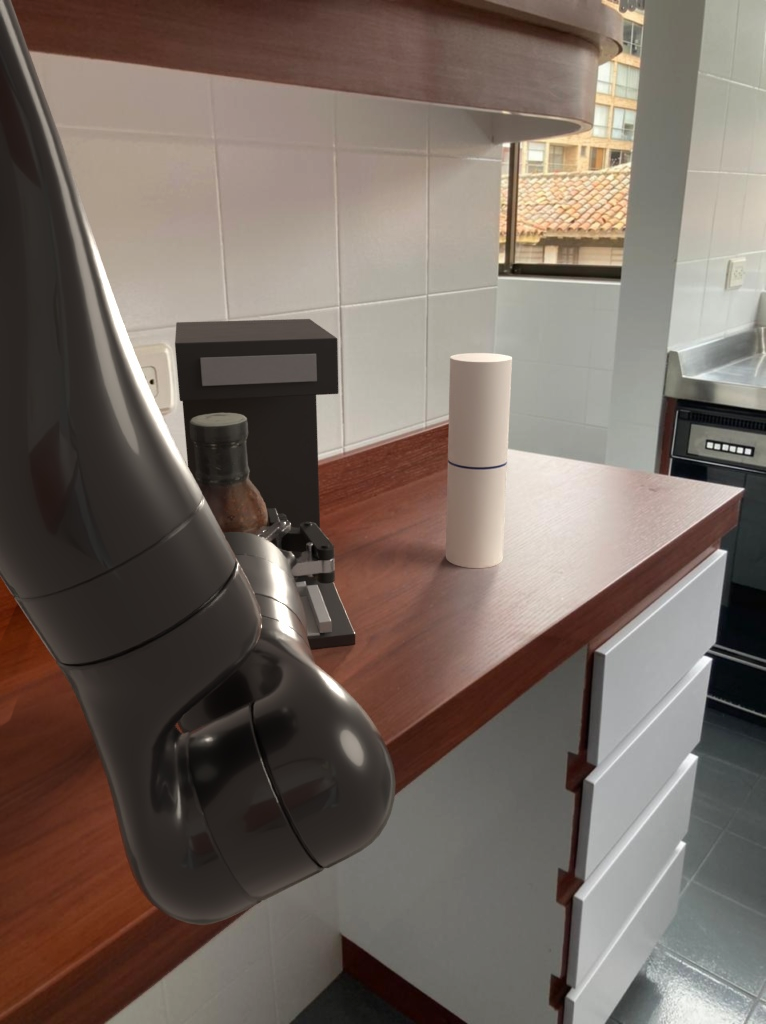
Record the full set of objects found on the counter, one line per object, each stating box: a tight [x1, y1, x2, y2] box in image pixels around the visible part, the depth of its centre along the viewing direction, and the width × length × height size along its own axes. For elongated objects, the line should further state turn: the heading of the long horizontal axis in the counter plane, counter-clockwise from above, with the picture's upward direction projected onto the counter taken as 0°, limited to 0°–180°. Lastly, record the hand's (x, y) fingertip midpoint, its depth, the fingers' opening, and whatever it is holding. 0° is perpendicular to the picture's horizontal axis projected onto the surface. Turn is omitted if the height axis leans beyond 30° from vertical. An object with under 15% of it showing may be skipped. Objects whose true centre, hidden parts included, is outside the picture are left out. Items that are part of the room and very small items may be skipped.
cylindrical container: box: [445, 352, 513, 569], centre depth 99 cm, size 7×7×25 cm
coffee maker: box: [174, 318, 356, 650], centre depth 83 cm, size 16×18×30 cm
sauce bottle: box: [190, 413, 268, 534], centre depth 61 cm, size 7×6×20 cm
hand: (226, 523), depth 63 cm, fingers closed on sauce bottle, 6 cm apart
